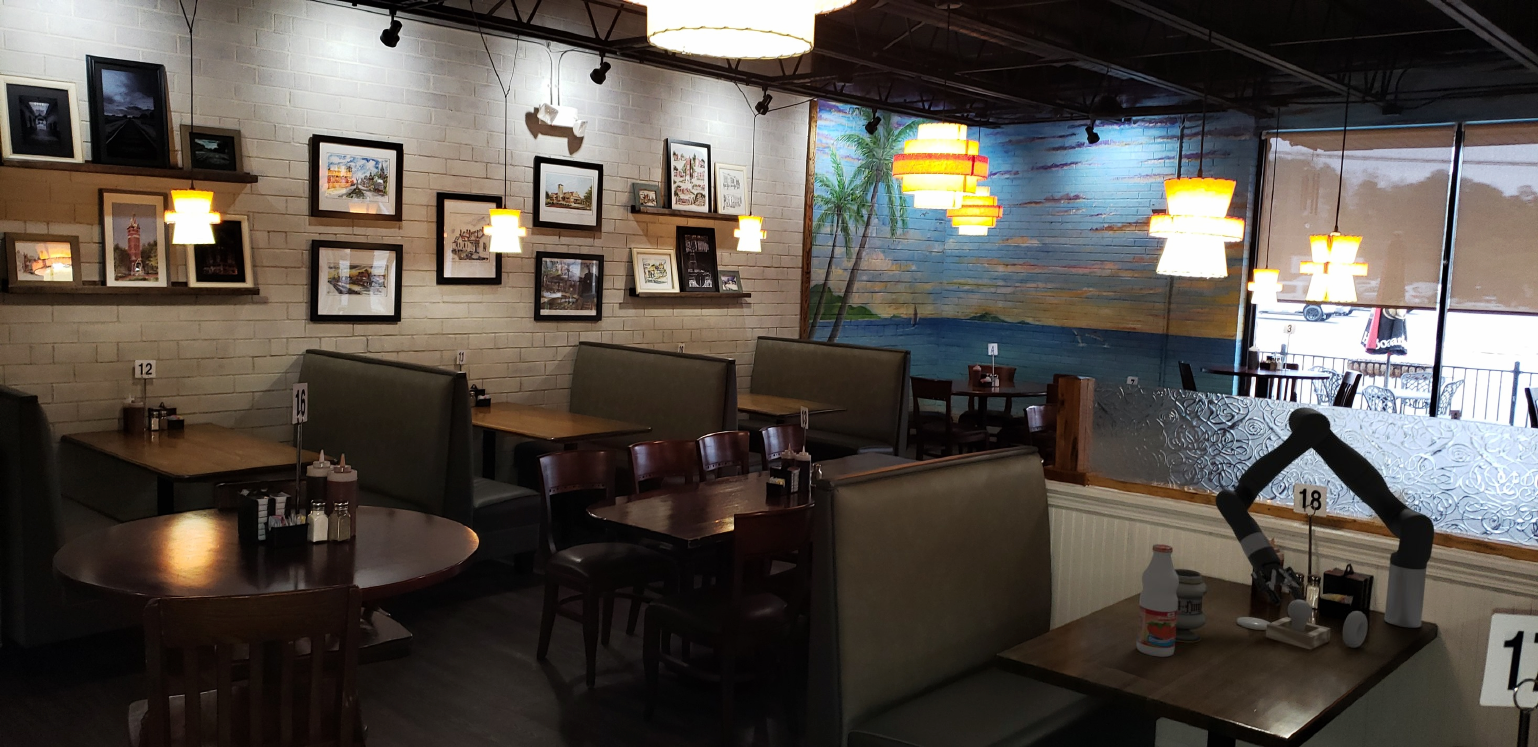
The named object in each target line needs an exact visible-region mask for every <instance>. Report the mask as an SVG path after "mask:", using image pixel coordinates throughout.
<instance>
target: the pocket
mask: <svg viewBox="0 0 1538 747" xmlns="http://www.w3.org/2000/svg"><path fill="white" fill-rule="evenodd" d="M1330 636H1331V628H1330V627H1326V626H1323V625H1318V624H1314V623H1311V622H1307V623H1306V626H1305V630H1304V632H1300V631H1296V630H1293V629H1292V622H1291V619H1290V617H1288V616H1285V617H1283V618H1280V619H1278V620H1275V621H1273V622H1270V624H1267V627H1266V630H1265V638H1268V639H1271V640H1275V641H1279V642H1282V643H1286V644H1290V645H1292V646H1295V647H1299V648H1304V649H1307V650H1309V651H1310V650H1312V649H1315V648H1317V647H1320V646H1321V645H1324V644H1326V643H1329V642H1330V638H1331V637H1330Z"/></svg>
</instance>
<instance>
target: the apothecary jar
mask: <svg viewBox="0 0 1538 747" xmlns="http://www.w3.org/2000/svg"><path fill="white" fill-rule="evenodd" d="M1174 569H1175V572H1176V573H1177V575H1178V578H1179V585H1178V588H1177V591H1176V595H1177V598H1178V610H1177V623H1176V636H1175V642H1179V643H1185V644H1186V643H1187V644H1193V643H1198V642H1199V641H1201V636H1200V635H1198V633H1196V632H1194V631H1192V630H1197V629H1200V628H1202V627H1203V626H1204V625H1205V624H1206V622H1207V616H1206V614H1205V612H1204V611H1203V597H1204V596H1205V595H1207V593H1208V591H1209V590H1208V586H1207V584H1206V582H1204V581H1203V579H1202V578H1203V576H1202V573H1200V571H1197V570H1193V569H1188V568H1174Z"/></svg>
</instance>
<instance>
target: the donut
mask: <svg viewBox="0 0 1538 747" xmlns="http://www.w3.org/2000/svg"><path fill="white" fill-rule="evenodd" d="M1368 627H1369V626H1368V619H1367V616H1366V614H1364V613H1363V612H1362V611H1359V610H1353V611H1352V612H1350V613H1349V614H1348V615H1347V617H1346V619H1345V620H1344V623H1343V627H1342V639H1343V642H1344V644H1345V645H1346V646H1347V647H1349V648H1352V649H1354V648H1358V647H1360V646H1361V645H1362V644H1363V642H1364V641H1365V638H1366V636H1367V633H1368Z"/></svg>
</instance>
